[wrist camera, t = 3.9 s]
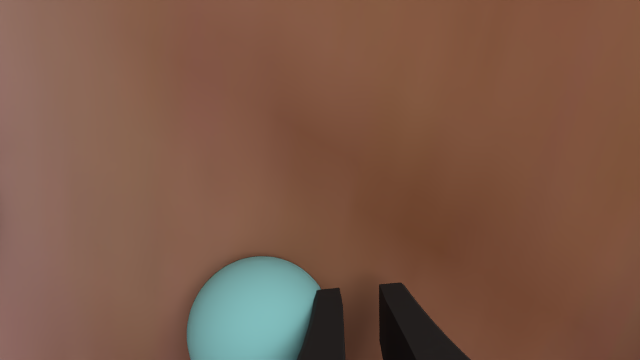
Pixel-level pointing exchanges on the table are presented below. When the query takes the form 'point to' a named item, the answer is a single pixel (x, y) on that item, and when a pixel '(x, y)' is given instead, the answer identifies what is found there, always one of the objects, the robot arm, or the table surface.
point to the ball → (252, 311)
